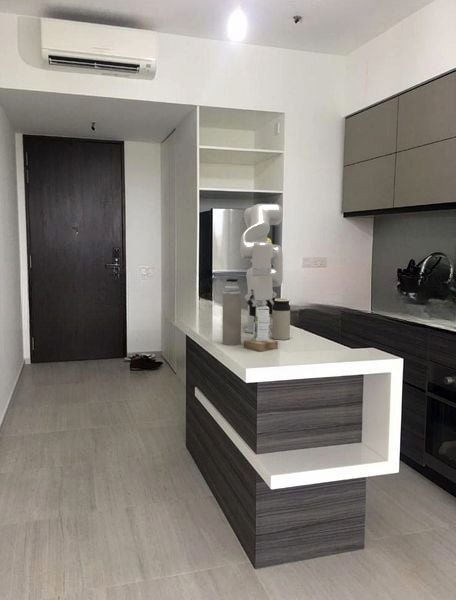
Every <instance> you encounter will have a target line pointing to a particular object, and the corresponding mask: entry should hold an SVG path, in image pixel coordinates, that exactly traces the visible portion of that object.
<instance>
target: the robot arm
mask: <svg viewBox="0 0 456 600" xmlns="http://www.w3.org/2000/svg"><path fill="white" fill-rule="evenodd" d="M243 214H244V223H245V226H246V230H244V232H243V233H242V235H241V237H240V244H239V245H240V246H239V248H240V250H239V251H240V256H241V258H242V259H243V260H249V261H250V263H252V264H251V267H250V268H248V269H247V270H246V285H247V293H246V294H245V295H244V300H245V301H246V303H247V327H246V328H244V332H245V333H249V334H253V329H254V316H256V306H255V305H266V306H268V307H269V315H272V310H273V305H274V301H275V299H277V295H278V294H277V292H275V291H274V290H273V289H274V287H276V288H277V287H280V286H281V285H282V284H283V281H284V279H283V278H284V271H283V270H284V268H283V267H284V263H283V261H284V259H283V258H284V256H283V255H284V254H283V248H282V247H281V245H279V244H274V243H272V242H270V241H268V235H269V233H270V231H271V226H278V225H280V223H282V221H283V217H284V215H283V208H282V206H281V205H280V204H278V203H257V204H254V205H252V206H251V207H247V208H246V209H245V210H244V212H243ZM270 327H272V322H269V333H271V329H270Z"/></svg>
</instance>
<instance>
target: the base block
mask: <svg viewBox="0 0 456 600" xmlns="http://www.w3.org/2000/svg"><path fill="white" fill-rule="evenodd" d="M278 341H279V340H274V339H273V340H272V339H268V341H266V342H255V341H254V339H253V338H252V339H245V340H243V346H242V347H243V348H244V349H247V350H251V351H254V352H255V351H256V352H259V353H261V352H266V351H273V350H278V344H279V342H278Z"/></svg>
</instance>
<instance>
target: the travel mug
mask: <svg viewBox="0 0 456 600" xmlns="http://www.w3.org/2000/svg"><path fill="white" fill-rule="evenodd" d="M290 301H291V299H289V298H275V301H274V304H272V314H271V316H272V318H271V319H272V320H271V321H272V326H271V327H272V329H271V333H272V334H271V337H272V339H273V340H275V341H287V340H289V339H290V336H291V324H290V323H291V305H290V304H289V303H290Z"/></svg>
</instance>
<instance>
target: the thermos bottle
mask: <svg viewBox="0 0 456 600" xmlns="http://www.w3.org/2000/svg"><path fill="white" fill-rule="evenodd" d="M225 281H226V284H225V286H224V289H223V292H222V344H223V345H225V346H239V345H241V344H242V292H241V287H240V286H239V283H238V279H236V278H227V279H225Z"/></svg>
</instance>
